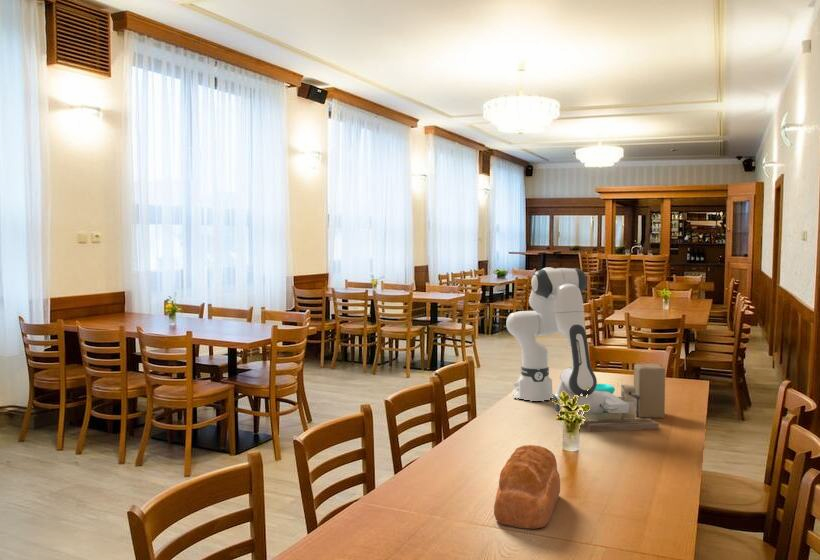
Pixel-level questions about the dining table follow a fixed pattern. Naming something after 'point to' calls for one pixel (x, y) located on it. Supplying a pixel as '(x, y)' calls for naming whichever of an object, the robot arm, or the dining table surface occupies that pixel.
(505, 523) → the bread
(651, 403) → the grey rectangular block
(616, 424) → the board
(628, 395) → the gauge
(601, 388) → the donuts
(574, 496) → the dining table surface
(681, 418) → the dining table surface
